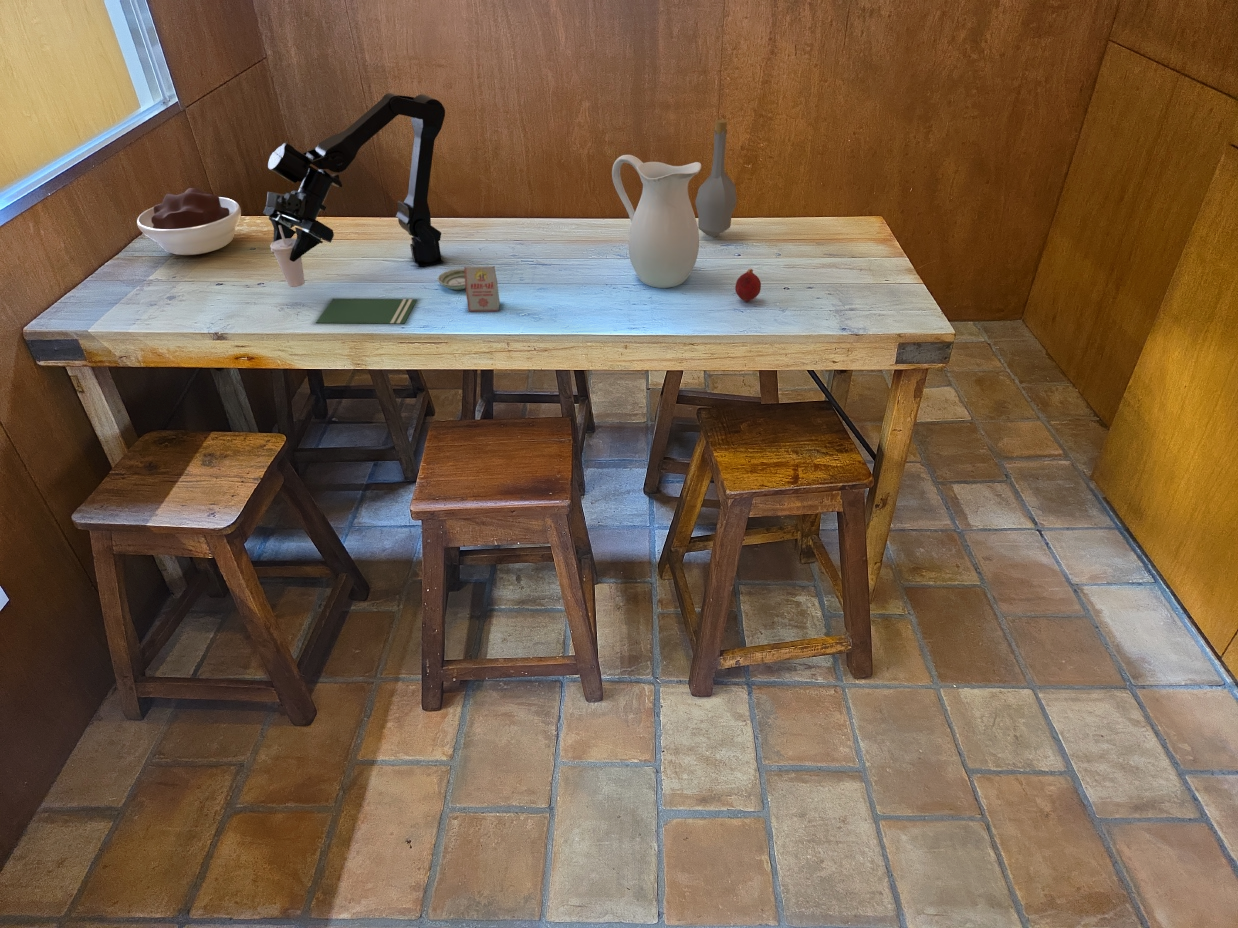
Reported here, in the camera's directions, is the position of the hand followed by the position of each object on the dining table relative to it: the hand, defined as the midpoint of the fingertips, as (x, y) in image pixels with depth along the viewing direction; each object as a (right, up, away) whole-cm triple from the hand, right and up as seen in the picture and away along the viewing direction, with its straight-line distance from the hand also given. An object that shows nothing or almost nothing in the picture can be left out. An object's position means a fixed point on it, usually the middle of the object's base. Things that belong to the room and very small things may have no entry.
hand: (282, 257), depth 177 cm
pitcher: (+84, 0, +18) cm, 86 cm away
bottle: (+102, +15, +37) cm, 109 cm away
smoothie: (+1, -5, +5) cm, 7 cm away
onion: (+106, -9, +6) cm, 106 cm away
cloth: (+18, -11, +4) cm, 22 cm away
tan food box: (+45, -11, +5) cm, 46 cm away
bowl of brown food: (-37, +12, +34) cm, 52 cm away
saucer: (+37, -3, +14) cm, 40 cm away
